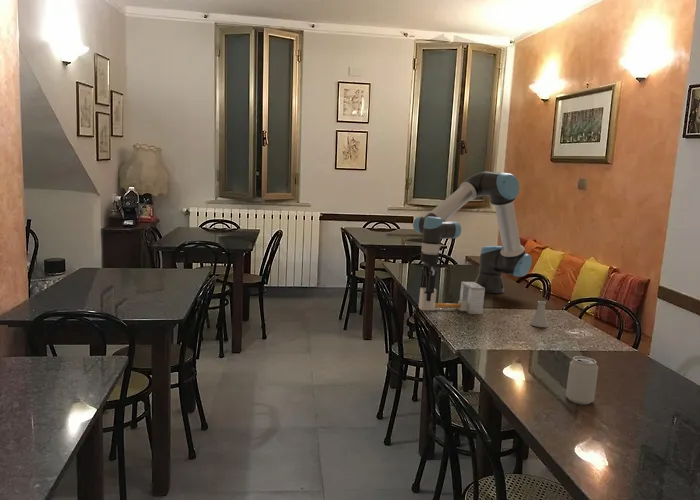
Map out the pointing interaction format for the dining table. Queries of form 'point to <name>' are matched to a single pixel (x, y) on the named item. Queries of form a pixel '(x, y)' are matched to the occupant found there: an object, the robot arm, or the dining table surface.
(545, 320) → the flask
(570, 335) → the dining table surface
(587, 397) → the can
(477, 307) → the housing
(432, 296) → the white and wooden mallet
